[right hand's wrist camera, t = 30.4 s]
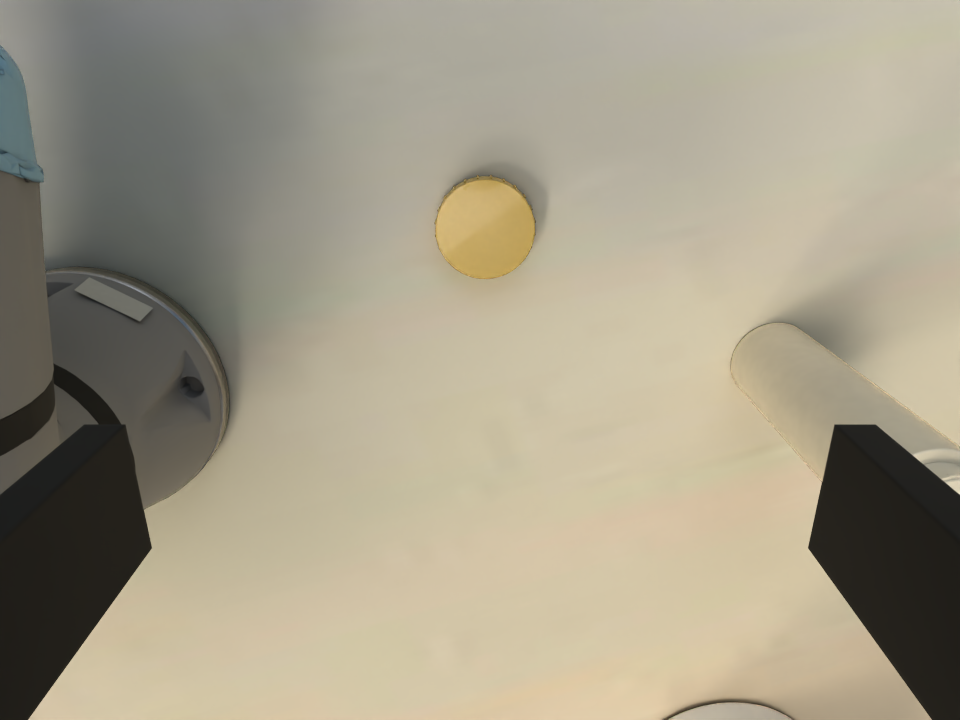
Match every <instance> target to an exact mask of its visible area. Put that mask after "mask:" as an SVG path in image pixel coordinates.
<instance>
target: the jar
mask: <svg viewBox="0 0 960 720" xmlns="http://www.w3.org/2000/svg"><path fill="white" fill-rule="evenodd" d="M731 373H732V377H733V380H734V382H735V383H736V385H737V386H738V387H739V389H740V390H741V391H742V392H743V393H744V394H745V395H746V397H747V398H748V399H749V400H750V401H751V402H752V403H753V404H754V406H755V407H756V408H757V409H758V410H759V411H760V412H761V414H762V415H763V416H764V417H765V418H766V419H767V420H768V422H769V423H770V424H771V425H772V426H773V427H774V428H775V430H776V431H777V432H778V433H779V434H780V435H781V436H782V437H783V439H784V440H785V441H786V442H787V443H788V444H789V445H790V447H791V448H792V449H793V450H794V451H795V452H796V453H797V455H798V456H799V457H800V458H801V459H802V460H803V461H804V463H805V464H806V465H807V466H808V467H809V468H810V469H811V470H812V472H813V473H814V474H815V475H816V476H817V477H818V478H819V480H820V481H821V482H822V481H823V476H824V471H825V466H826V462H827V457H828V452H829V448H830V443H831V438H832V433H833V429H834V424H876V425H877V426H878V427H879V428H881V429H882V430H883V431H884V432H885V433H887V434H888V435H889V436H890V437H891V438H893V439H894V440H895V441H896V442H897V443H899V444H900V445H901V446H902V447H903V448H905V449H906V450H907V451H908V452H909V453H911V454H912V455H913V456H914V457H915V458H917V459H918V460H919V461H920V462H921V463H922V464H924V465H925V466H926V467H927V468H928V469H930V470H931V471H932V472H933V473H934V474H936V475H937V476H938V477H939V478H940V479H942V480H943V481H944V482H945V483H946V484H948V485H949V486H950V487H951V488H952V489H954V490H955V491H956V492H957V493H958V494H960V446H959V445H957V444H956V443H954V442H953V441H952V440H950V439H949V438H948V437H946V436H945V435H944V434H942V433H941V432H940V431H938V430H937V429H935V428H934V427H933V426H931V425H930V424H929V423H927V422H926V421H925V420H923V419H922V418H921V417H919V416H918V415H916V414H915V413H914V412H912V411H911V410H910V409H908V408H907V407H906V406H904V405H903V404H901V403H900V402H899V401H897V400H896V399H895V398H893V397H892V396H891V395H889V394H888V393H887V392H885V391H884V390H882V389H881V388H880V387H878V386H877V385H876V384H874V383H873V382H872V381H870V380H869V379H868V378H866V377H865V376H863V375H862V374H861V373H859V372H858V371H857V370H855V369H854V368H853V367H851V366H850V365H848V364H847V363H846V362H844V361H843V360H842V359H840V358H839V357H838V356H836V355H835V354H834V353H832V352H831V351H829V350H828V349H827V348H825V347H824V346H823V345H821V344H820V343H819V342H817V341H816V340H815V339H813V338H812V337H810V336H809V335H808V334H806V333H805V332H804V331H802V330H801V329H799V328H798V327H796V326H793V325H791V324H787V323H770V324H766V325H763V326H760V327H758V328H756V329H754V330H752V331H751V332H749V333H748V334H747V335H746V336H745V337H744V338H743V339H742V340H741V341H740V342H739V344H738V345H737V347H736V349H735V351H734V353H733V356H732V360H731Z"/></svg>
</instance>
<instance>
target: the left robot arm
mask: <svg viewBox="0 0 960 720" xmlns="http://www.w3.org/2000/svg"><path fill="white" fill-rule="evenodd" d="M668 720H792V719H791V718H789V717H788V716H786V715H784V714H782V713H781V712H778V711H776V710H774V709H771V708H768V707H765V706H761V705H756V704H750V703H739V702H728V703H716V704H710V705H705V706H700V707H697V708H693V709H690V710H687V711H685V712H682V713H680V714H678V715H675V716H673V717H672V718H670V719H668Z"/></svg>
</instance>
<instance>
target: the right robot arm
mask: <svg viewBox="0 0 960 720" xmlns="http://www.w3.org/2000/svg"><path fill="white" fill-rule="evenodd" d="M39 182H44V173H43V169H42V168H41V167H40V166H39V165H38V164H37V161H36V155H35V148H34V142H33V135H32V129H31V123H30V116H29V110H28V102H27V94H26V87H25V83H24V80H23V77H22V75H21V72H20V70H19V68H18V66H17V65H16V63H15V62H14V60H13V59H12V57H11V56H10V55H9V54H8V53H7V52H6V51H5V50H4V49H3V47H2V46H0V720H28V719H29V717H30V716H31V715H32V713H33V712H34V711H35V709H36V708H37V706H38V705H39V704H40V702H41V701H42V699H43V698H44V697H45V695H46V694H47V693H48V691H49V690H50V688H51V687H52V686H53V684H54V683H55V681H56V680H57V679H58V677H59V676H60V675H61V673H62V672H63V670H64V669H65V668H66V666H67V665H68V663H69V662H70V661H71V659H72V658H73V657H74V655H75V654H76V652H77V651H78V650H79V648H80V647H81V645H82V644H83V643H84V641H85V640H86V639H87V637H88V636H89V634H90V633H91V632H92V630H93V629H94V627H95V626H96V625H97V623H98V622H99V620H100V619H101V618H102V616H103V615H104V614H105V612H106V611H107V609H108V608H109V607H110V605H111V604H112V602H113V601H114V600H115V598H116V597H117V596H118V594H119V593H120V591H121V590H122V589H123V587H124V586H125V584H126V583H127V582H128V580H129V579H130V578H131V576H132V575H133V573H134V572H135V571H136V569H137V568H138V566H139V565H140V564H141V562H142V561H143V560H144V558H145V557H146V555H147V554H148V553H149V551H150V550H151V548H152V547H151V542H150V537H149V532H148V528H147V523H146V518H145V514H144V509H146V508H148V507H150V506H152V505H154V504H156V503H158V502H160V501H162V500H164V499H166V498H167V497H169V496H171V495H173V494H174V493H176V492H177V491H178V490H180V489H181V488H182V487H184V486H185V485H186V484H187V483H188V482H189V481H191V480H192V479H193V478H194V477H195V476H196V475H197V474H198V473H199V472H200V471H201V470H202V469H203V467H204V466H205V465H206V463H207V462H208V461H209V459H210V458H211V457H212V455H213V454H214V452H215V451H216V449H217V447H218V446H219V444H220V442H221V440H222V437H223V435H224V432H225V429H226V425H227V421H228V414H229V390H228V385H227V379H226V376H225V372H224V369H223V366H222V363H221V361H220V358H219V356H218V354H217V352H216V350H215V348H214V346H213V345H212V343H211V341H210V340H209V338H208V337H207V335H206V334H205V332H204V331H203V330H202V328H201V327H200V326H199V325H198V323H197V322H196V321H195V320H194V319H193V318H192V317H191V316H190V315H189V314H188V313H187V312H186V311H185V310H184V309H183V308H182V307H181V306H180V305H178V304H177V303H176V302H174V301H173V300H172V299H171V298H169V297H168V296H166V295H165V294H163V293H162V292H160V291H159V290H157V289H155V288H154V287H152V286H150V285H148V284H146V283H144V282H142V281H140V280H137V279H135V278H133V277H130V276H127V275H124V274H121V273H118V272H114V271H110V270H105V269H99V268H90V267H66V268H58V269H53V270H48V271H45V263H44V249H43V233H42V218H41V202H40V186H39ZM808 548H809V550H810V551H811V553H812V554H813V555H814V557H815V558H816V560H817V561H818V562H819V564H820V565H821V566H822V568H823V569H824V571H825V572H826V573H827V575H828V576H829V578H830V579H831V580H832V582H833V583H834V584H835V586H836V587H837V589H838V590H839V591H840V593H841V594H842V596H843V597H844V598H845V600H846V601H847V602H848V604H849V605H850V607H851V608H852V609H853V611H854V612H855V614H856V615H857V616H858V618H859V619H860V621H861V622H862V623H863V625H864V626H865V627H866V629H867V630H868V632H869V633H870V634H871V636H872V637H873V639H874V640H875V641H876V643H877V644H878V645H879V647H880V648H881V650H882V651H883V652H884V654H885V655H886V657H887V658H888V659H889V661H890V662H891V663H892V665H893V666H894V668H895V669H896V670H897V672H898V673H899V675H900V676H901V677H902V679H903V680H904V681H905V683H906V684H907V686H908V687H909V688H910V690H911V691H912V693H913V694H914V695H915V697H916V698H917V699H918V701H919V702H920V704H921V705H922V706H923V708H924V709H925V711H926V712H927V713H928V715H929V716H930V717H931V719H932V720H960V494H958V493H957V492H956V491H955V490H954V489H952V488H951V487H950V486H949V485H948V484H946V483H945V482H944V481H943V480H942V479H940V478H939V477H938V476H937V475H936V474H934V473H933V472H932V471H931V470H930V469H928V468H927V467H926V466H925V465H924V464H922V463H921V462H920V461H919V460H918V459H917V458H915V457H914V456H913V455H912V454H911V453H909V452H908V451H907V450H906V449H905V448H903V447H902V446H901V445H900V444H899V443H897V442H896V441H895V440H894V439H893V438H891V437H890V436H889V435H888V434H887V433H885V432H884V431H883V430H882V429H881V428H879V427H878V426H877V425H876V424H834V429H833V433H832V438H831V443H830V448H829V452H828V457H827V462H826V466H825V471H824V476H823V481H822V485H821V490H820V495H819V499H818V504H817V509H816V514H815V518H814V523H813V528H812V532H811V537H810V542H809V547H808Z"/></svg>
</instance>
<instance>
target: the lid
mask: <svg viewBox="0 0 960 720" xmlns="http://www.w3.org/2000/svg"><path fill="white" fill-rule="evenodd" d="M525 198H526V196H525V194H522V193H521V192H520V191H519V190H518V189H517V187H516V185H515V184H514V186H513V185H512V184H510V183H509V182H507V181H505V179H504V178H503V179H500V178H496V177H492V175H490V176H481V177H479V175H477V177H474V178H471V179H468V180H466V179H464V181H463V182H462V183H460V184H458V185H457V186H456V187H455V185H454V186H453V189H452V190H451V191H450V192H449V193H448V195H447V196H446V195H445V196H444V201H443V202H442V205H441V207H439V208H438V216H437V219H436V220H435V224H436V234H435V237H436V239H437V243H438V246H439V250H440V251H441V253H442V255H443V256H444V258H445V259H446V261H447V262H448V263H449V264H450V265H451V266H452V267H454V268H455V269H456V270H458V271H459V272H461V273H463V274H465V275H467V276H470V277H473V278H479V279H491V278H496V277H500V276H503V275H505V274H507V273H509V272H511V271H513V270H514V269H515V268H517V267H518V266H519V265H520V264H521V263H522V262H523V261H524V259H525V258H526V257H527V255H528V253H529V251H530V249H531V248H532V244H533V240H534V236H535V223H536V222H535V219H534V217H533V214H532V211H531V210H532V207H531V205H529V204H528V202H527V200H526V199H525Z"/></svg>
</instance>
